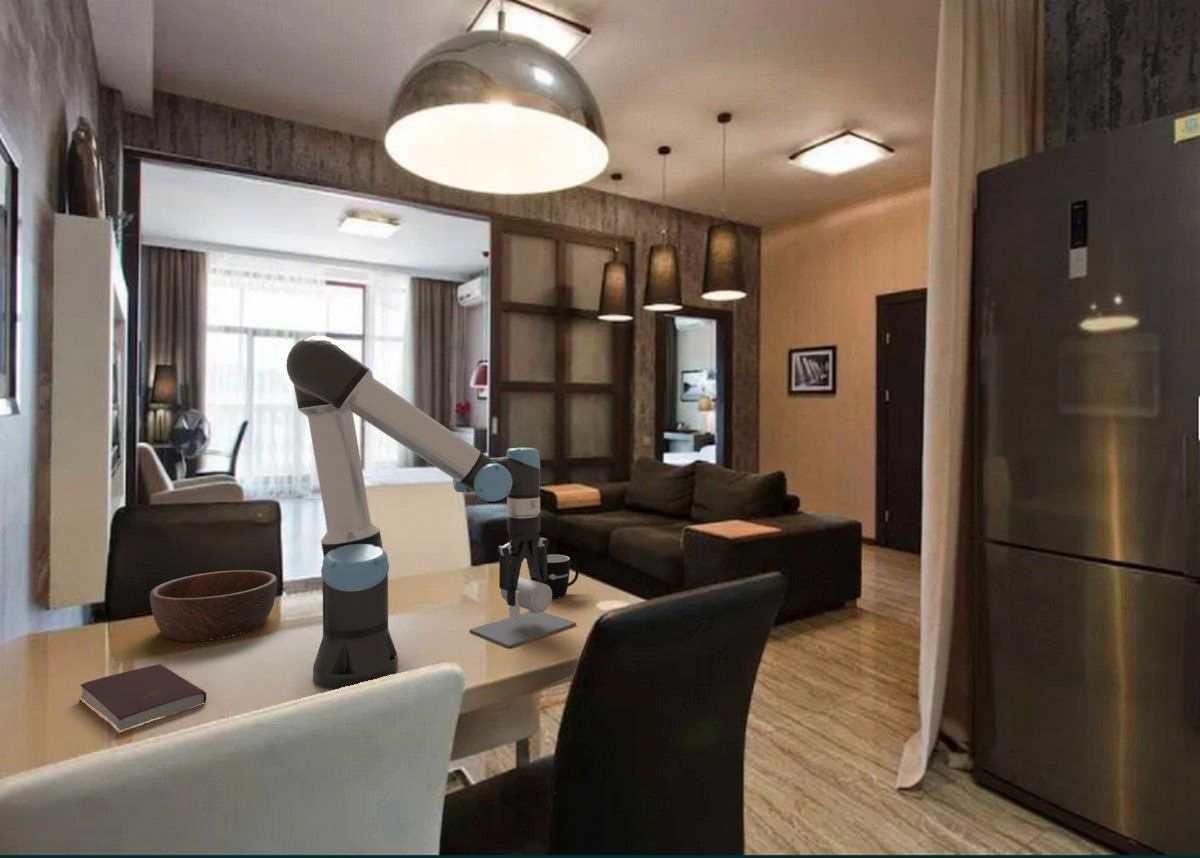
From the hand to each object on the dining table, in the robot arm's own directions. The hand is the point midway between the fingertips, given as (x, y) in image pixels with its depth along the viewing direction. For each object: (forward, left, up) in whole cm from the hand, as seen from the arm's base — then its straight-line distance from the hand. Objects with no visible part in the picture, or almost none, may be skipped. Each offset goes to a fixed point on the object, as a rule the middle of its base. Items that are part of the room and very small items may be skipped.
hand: (524, 615), depth 146 cm
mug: (+24, +14, -3) cm, 28 cm away
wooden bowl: (-48, +52, -3) cm, 71 cm away
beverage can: (0, -7, +5) cm, 8 cm away
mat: (0, 0, -3) cm, 3 cm away
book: (-69, +19, -4) cm, 72 cm away
